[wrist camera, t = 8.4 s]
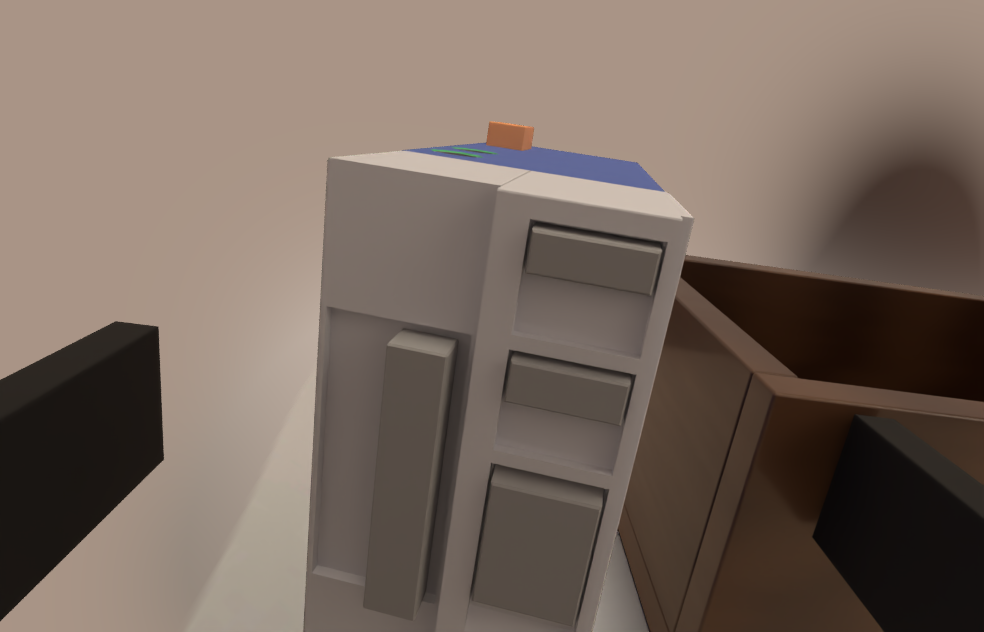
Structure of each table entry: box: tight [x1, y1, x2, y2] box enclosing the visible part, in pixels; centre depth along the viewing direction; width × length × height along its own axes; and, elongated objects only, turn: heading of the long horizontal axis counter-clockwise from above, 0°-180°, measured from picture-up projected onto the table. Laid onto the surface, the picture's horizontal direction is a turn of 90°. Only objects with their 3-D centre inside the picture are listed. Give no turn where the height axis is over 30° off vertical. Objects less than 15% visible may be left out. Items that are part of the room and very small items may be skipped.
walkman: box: [303, 122, 694, 632], centre depth 9 cm, size 8×3×12 cm, turn 169°
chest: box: [618, 255, 984, 632], centre depth 19 cm, size 18×13×8 cm
